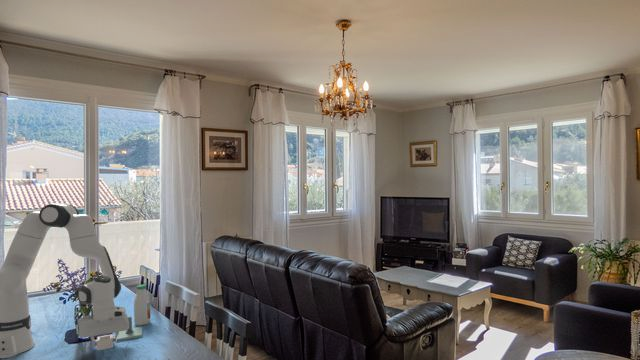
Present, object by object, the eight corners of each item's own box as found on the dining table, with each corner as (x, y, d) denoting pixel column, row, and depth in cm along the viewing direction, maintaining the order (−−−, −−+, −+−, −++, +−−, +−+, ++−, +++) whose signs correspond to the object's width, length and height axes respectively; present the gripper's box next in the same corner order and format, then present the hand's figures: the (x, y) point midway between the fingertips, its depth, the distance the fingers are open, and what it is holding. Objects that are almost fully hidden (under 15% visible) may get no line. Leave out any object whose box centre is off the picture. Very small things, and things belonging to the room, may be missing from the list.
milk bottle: (144, 326, 205) (143, 287, 204) (131, 325, 206) (129, 287, 206) (153, 320, 212) (152, 283, 212) (140, 320, 214) (139, 283, 213)
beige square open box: (96, 350, 177) (96, 341, 177) (98, 345, 183) (97, 336, 183) (112, 347, 180) (112, 339, 180) (113, 342, 186) (112, 334, 186)
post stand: (116, 341, 187) (115, 323, 186) (117, 333, 197) (116, 315, 196) (142, 337, 191) (141, 319, 191) (141, 329, 201) (141, 311, 201)
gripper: (76, 319, 174) (77, 350, 174) (128, 311, 183) (129, 341, 183) (78, 314, 180) (79, 345, 180) (128, 307, 188) (129, 336, 189)
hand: (105, 343), depth 182 cm, fingers closed on beige square open box, 6 cm apart
